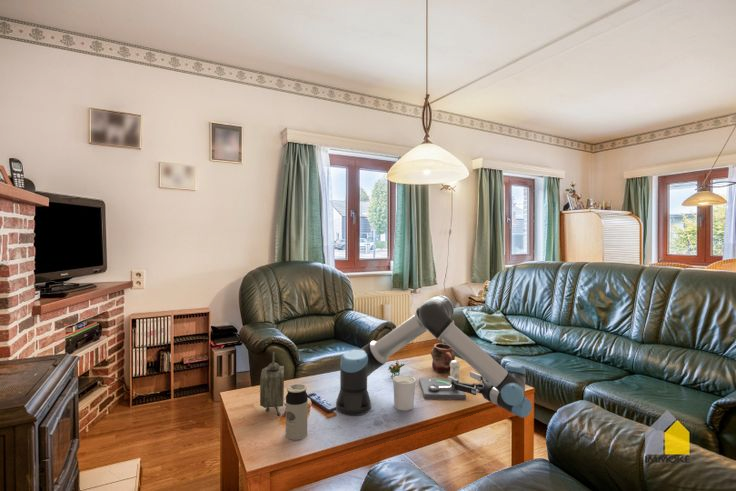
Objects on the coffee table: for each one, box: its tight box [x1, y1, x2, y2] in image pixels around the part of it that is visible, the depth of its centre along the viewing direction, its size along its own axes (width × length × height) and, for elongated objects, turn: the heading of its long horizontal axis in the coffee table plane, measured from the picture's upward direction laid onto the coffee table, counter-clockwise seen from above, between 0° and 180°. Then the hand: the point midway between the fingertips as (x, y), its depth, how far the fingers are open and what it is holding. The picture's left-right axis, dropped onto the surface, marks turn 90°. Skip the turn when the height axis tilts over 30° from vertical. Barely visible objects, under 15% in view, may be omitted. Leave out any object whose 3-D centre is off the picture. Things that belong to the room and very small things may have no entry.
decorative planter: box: [430, 342, 456, 374], centre depth 206 cm, size 20×12×14 cm, turn 20°
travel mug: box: [285, 383, 309, 441], centre depth 139 cm, size 8×8×18 cm
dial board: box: [418, 377, 467, 400], centre depth 181 cm, size 19×19×2 cm
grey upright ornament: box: [259, 351, 285, 417], centre depth 157 cm, size 14×9×25 cm, turn 12°
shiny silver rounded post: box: [428, 359, 461, 391], centre depth 176 cm, size 15×5×14 cm, turn 94°
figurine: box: [387, 359, 406, 377], centre depth 198 cm, size 3×12×8 cm, turn 128°
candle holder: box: [392, 374, 417, 411], centre depth 163 cm, size 10×10×12 cm
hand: (459, 376), depth 174 cm, fingers open, 13 cm apart
